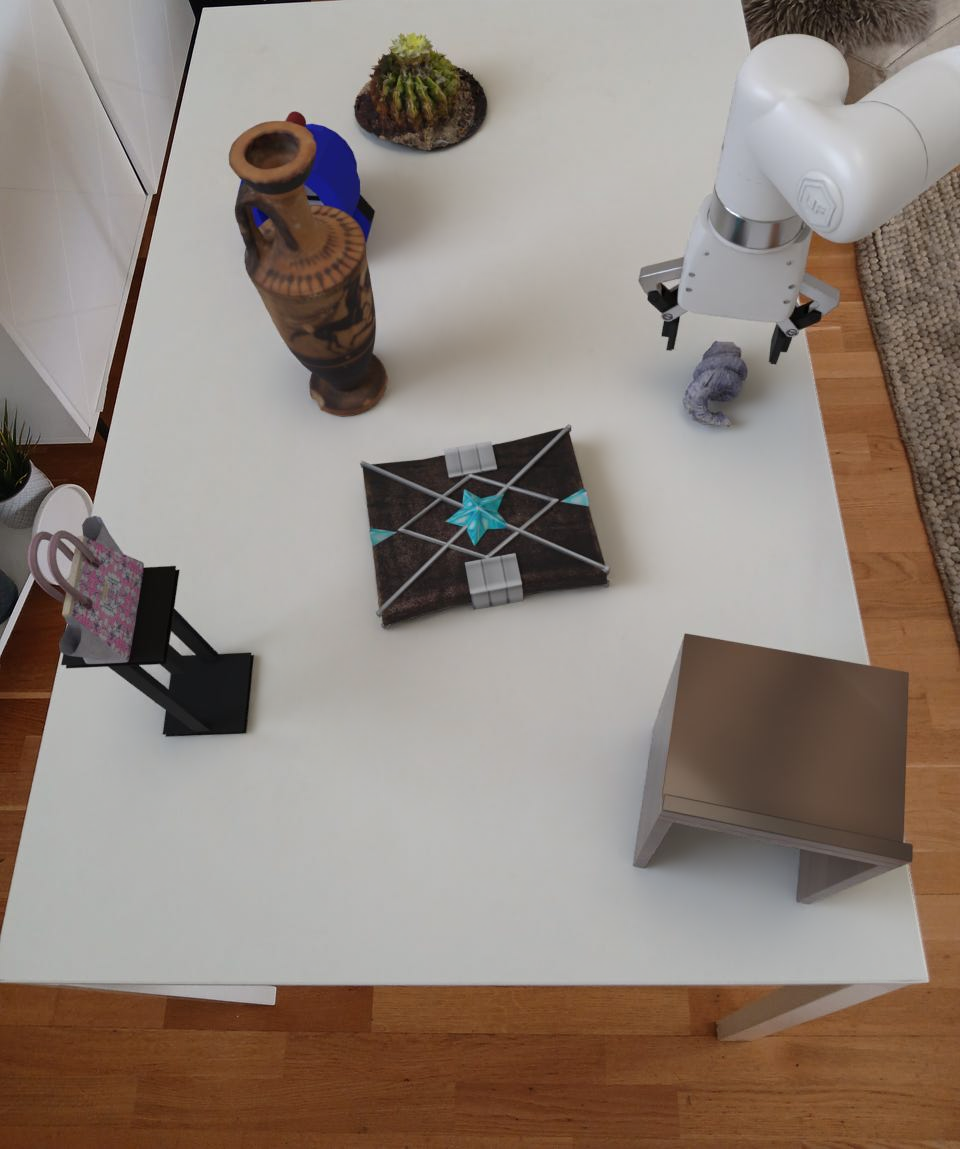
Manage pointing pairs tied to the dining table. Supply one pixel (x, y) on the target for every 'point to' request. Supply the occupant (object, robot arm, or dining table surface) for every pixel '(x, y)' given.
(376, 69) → the cactus
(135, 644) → the handbag
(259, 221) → the alarm clock
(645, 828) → the shelf
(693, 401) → the seashell
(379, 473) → the book
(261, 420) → the dining table surface
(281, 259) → the vase
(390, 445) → the dining table surface
